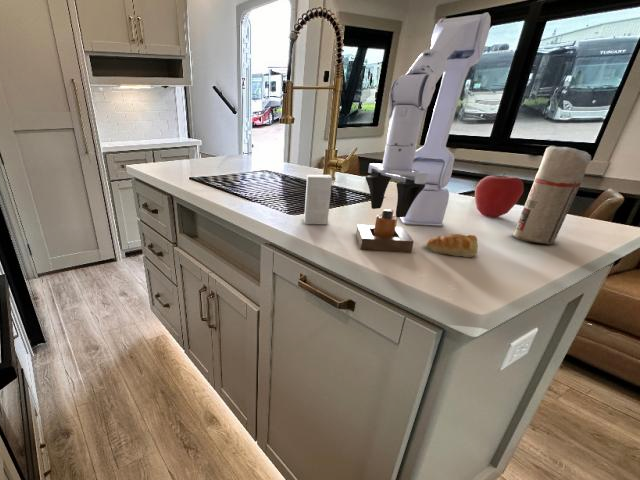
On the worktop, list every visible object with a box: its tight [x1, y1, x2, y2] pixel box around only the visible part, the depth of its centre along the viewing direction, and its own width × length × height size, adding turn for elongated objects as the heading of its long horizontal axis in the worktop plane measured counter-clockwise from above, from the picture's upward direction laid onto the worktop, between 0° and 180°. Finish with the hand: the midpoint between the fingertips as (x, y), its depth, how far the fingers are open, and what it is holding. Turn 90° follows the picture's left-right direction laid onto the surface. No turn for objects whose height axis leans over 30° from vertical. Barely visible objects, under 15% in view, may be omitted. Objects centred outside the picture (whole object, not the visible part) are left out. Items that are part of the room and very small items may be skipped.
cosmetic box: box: [303, 174, 333, 225], centre depth 93 cm, size 6×4×12 cm
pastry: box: [425, 233, 479, 258], centre depth 76 cm, size 9×7×4 cm
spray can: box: [512, 145, 592, 245], centre depth 79 cm, size 8×8×20 cm
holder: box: [355, 224, 415, 253], centre depth 81 cm, size 10×10×2 cm
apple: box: [474, 172, 525, 218], centre depth 99 cm, size 11×11×12 cm
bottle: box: [373, 208, 399, 237], centre depth 80 cm, size 4×4×8 cm
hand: (387, 212), depth 78 cm, fingers open, 7 cm apart
